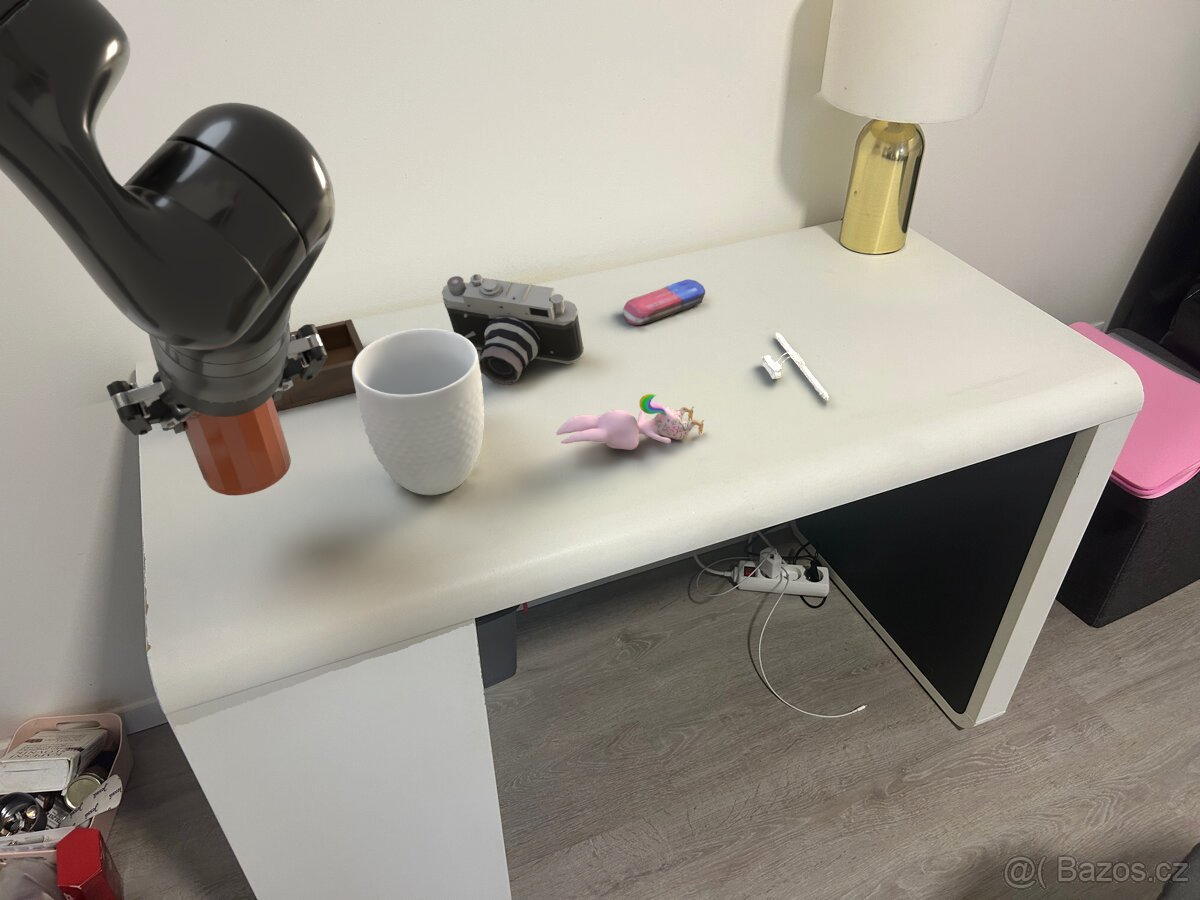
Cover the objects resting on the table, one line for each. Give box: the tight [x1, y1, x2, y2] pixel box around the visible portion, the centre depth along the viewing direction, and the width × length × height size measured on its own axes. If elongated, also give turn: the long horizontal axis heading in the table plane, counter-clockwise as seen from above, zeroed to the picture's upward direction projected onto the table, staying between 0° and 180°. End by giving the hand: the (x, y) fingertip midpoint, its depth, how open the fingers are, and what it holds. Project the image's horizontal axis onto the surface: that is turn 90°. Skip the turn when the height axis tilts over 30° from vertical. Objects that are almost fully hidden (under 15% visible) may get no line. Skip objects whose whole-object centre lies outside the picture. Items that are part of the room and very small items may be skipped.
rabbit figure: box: [555, 393, 706, 451], centre depth 83 cm, size 6×6×15 cm
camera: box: [441, 273, 585, 385], centre depth 93 cm, size 16×9×10 cm, turn 73°
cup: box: [183, 396, 292, 497], centre depth 65 cm, size 7×7×9 cm
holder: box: [274, 318, 365, 412], centre depth 93 cm, size 18×10×4 cm, turn 114°
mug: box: [352, 327, 485, 496], centre depth 79 cm, size 15×11×13 cm
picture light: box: [760, 332, 830, 402], centre depth 95 cm, size 14×4×2 cm, turn 14°
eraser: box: [622, 279, 706, 326], centre depth 105 cm, size 11×4×2 cm, turn 123°
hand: (223, 404), depth 66 cm, fingers closed on cup, 6 cm apart
